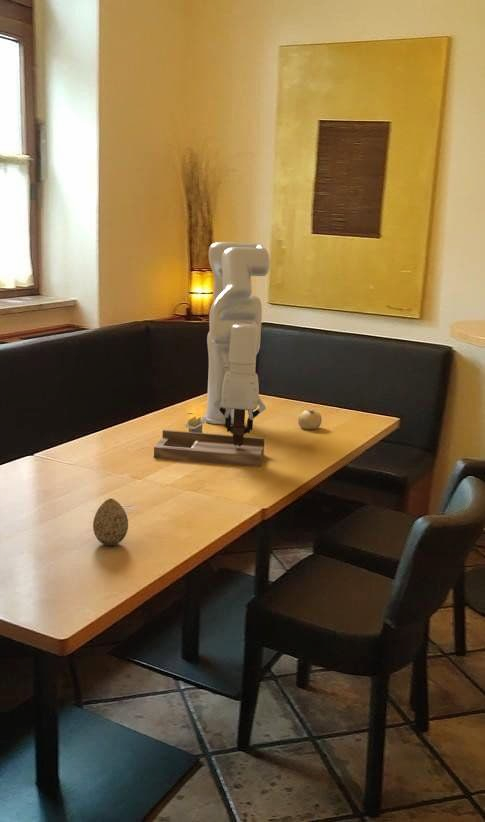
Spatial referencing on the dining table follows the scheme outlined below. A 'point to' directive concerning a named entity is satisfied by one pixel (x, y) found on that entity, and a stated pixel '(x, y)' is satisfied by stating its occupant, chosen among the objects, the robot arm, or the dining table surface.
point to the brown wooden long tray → (209, 448)
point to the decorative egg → (110, 523)
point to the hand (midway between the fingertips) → (238, 430)
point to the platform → (195, 424)
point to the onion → (309, 419)
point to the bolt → (238, 427)
